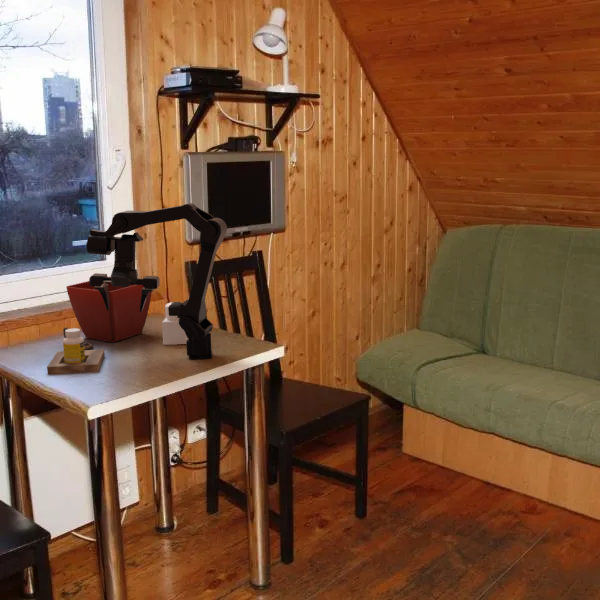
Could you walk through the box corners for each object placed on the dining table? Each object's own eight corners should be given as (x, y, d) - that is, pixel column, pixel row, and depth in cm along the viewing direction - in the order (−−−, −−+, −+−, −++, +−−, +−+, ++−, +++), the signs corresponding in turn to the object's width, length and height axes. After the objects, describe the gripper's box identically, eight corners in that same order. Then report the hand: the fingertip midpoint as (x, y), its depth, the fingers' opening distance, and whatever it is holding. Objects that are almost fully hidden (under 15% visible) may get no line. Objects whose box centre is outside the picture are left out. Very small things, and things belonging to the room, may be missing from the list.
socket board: (104, 356, 220) (104, 349, 219) (98, 371, 205) (97, 364, 205) (57, 358, 218) (57, 351, 218) (47, 374, 204) (47, 366, 203)
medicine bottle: (190, 338, 237) (189, 300, 235) (186, 344, 230) (184, 305, 228) (167, 338, 238) (165, 300, 235) (162, 345, 231) (160, 305, 228)
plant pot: (68, 339, 239) (64, 285, 236) (113, 325, 255) (110, 275, 252) (113, 347, 229) (109, 291, 226) (157, 332, 245) (154, 280, 242)
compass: (95, 350, 226) (93, 326, 225) (68, 354, 223) (66, 329, 221) (89, 344, 233) (87, 320, 232) (62, 347, 230) (60, 324, 228)
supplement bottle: (84, 367, 208) (82, 331, 206) (63, 368, 207) (61, 333, 205) (86, 361, 213) (83, 327, 211) (65, 362, 212) (63, 328, 210)
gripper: (84, 259, 207) (84, 315, 210) (154, 262, 208) (153, 318, 211) (93, 253, 218) (93, 307, 221) (160, 256, 219) (159, 310, 222)
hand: (124, 311), depth 218 cm, fingers open, 9 cm apart
